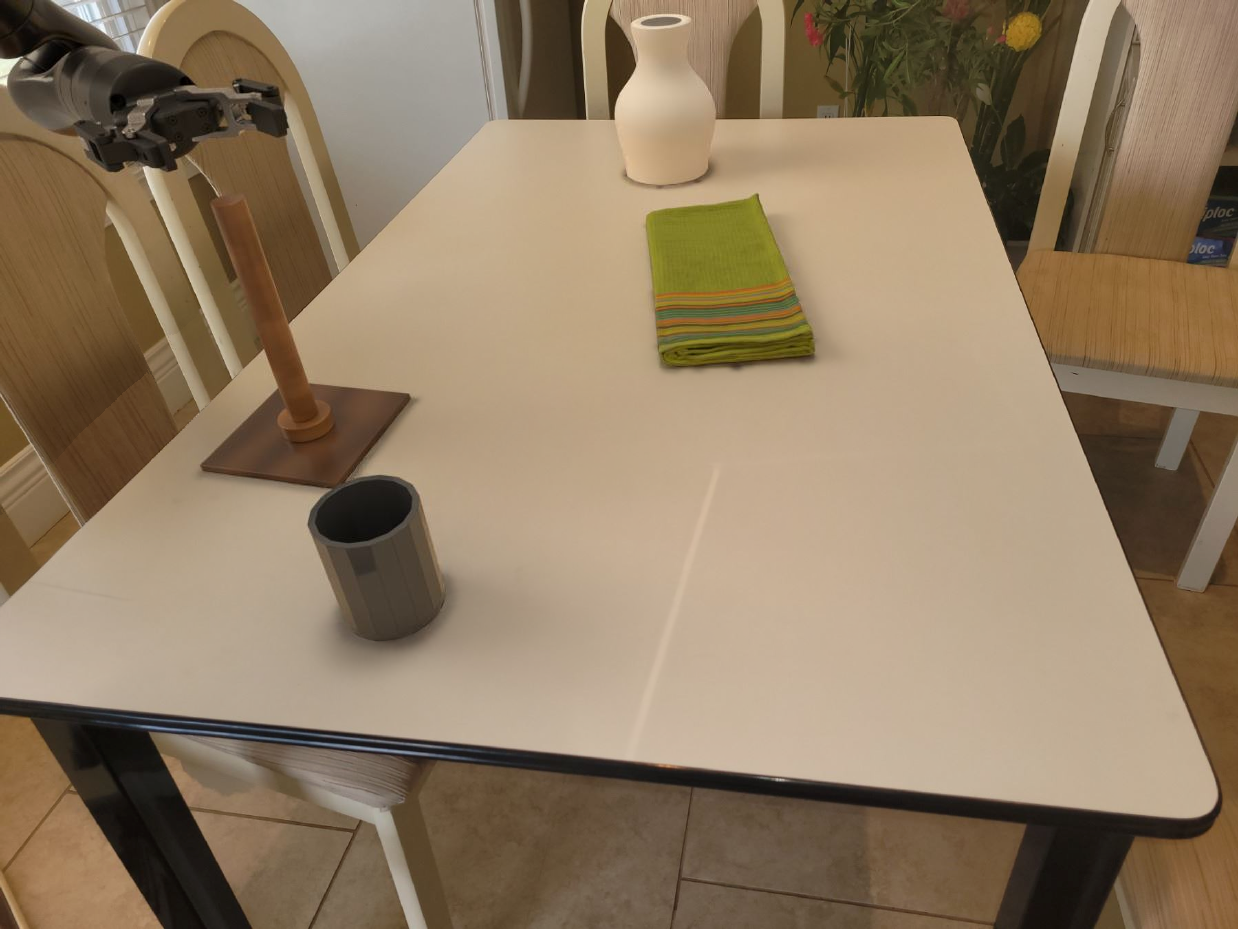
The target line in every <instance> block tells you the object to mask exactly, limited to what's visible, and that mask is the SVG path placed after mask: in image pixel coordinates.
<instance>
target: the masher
mask: <svg viewBox="0 0 1238 929" xmlns="http://www.w3.org/2000/svg"><path fill="white" fill-rule="evenodd" d="M210 207H211V210H212V212H213V216H214V218H215V222H216V223H217V226H218V228H219V232H220V234H221V237H222V240H223V242H224V245H225V248H226V251H227V253H228V256H229V258H230V261H231V264H232V267H233V269H234V272H235V275H236V278H237V280H238V282H239V285H240V289H241V291H242V294H243V297H244V299H245V302H246V304H247V307H248V310H249V314H250V315H251V318H252V320H253V321H252V322H253V323H254V326H255V329H256V332H257V334H258V337H259V340H260V342H261V345H262V348H263V350H264V353H265V356H266V359H267V362H268V364H269V367H270V369H271V371H272V375H273V378H274V380H275V383H276V385H277V389H278V388H279V391H280V394H281V396H282V399H283V402H284V404H285V407H286V409H284V410H283V411H282V412H281V413H280V415H279V416H278V425H279V427H280V430H281V432H282V435H283V437H284V438H285V439H287V440H289V441H292V442H307V441H312V440H315V439H317V438H320V437H322V436H323V435H325V434H326V433H328V432H329V431H330V430H331V429H332V427H333V425H334V418H333V415H332V412H331V409H330V406H329V405H328V404H327V403H326V402H324V401H320V400H314V397H313V394H312V391H311V388H310V385H309V383H310V382H309V380H308V377H307V374H306V370H305V368H304V366H303V362H302V359H301V356H300V354H299V351H298V348H297V345H296V342H295V340H294V337H293V336H294V335H293V333H292V331H291V327H290V324H289V322H288V319H287V316H286V312H285V310H284V307H283V304H282V300H281V298H280V295H279V293H278V289H277V286H276V284H275V281H274V278H273V275H272V272H271V269H270V267H269V263H268V261H267V258H266V254H265V252H264V249H263V246H262V244H261V240H260V237H259V235H258V232H257V229H256V225H255V223H254V220H253V217H252V215H251V211H250V209H249V205H248V203H247V199H246V197H245V195H244V194H242V193H227V194H223V195H220V196H218V197H215V198H213V199H212V200H211V201H210Z"/></svg>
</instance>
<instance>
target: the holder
mask: <svg viewBox="0 0 1238 929" xmlns="http://www.w3.org/2000/svg"><path fill="white" fill-rule="evenodd" d="M306 524H307V528H308V531H309V534H310V536H311V538H312V541H313V544H314V546H315V549H316V551H317V554H318V556H319V559H320V561H321V564H322V566H323V569H324V572H325V575H326V576H327V579H328V582H329V584H330V587H331V590H332V592H333V594H334V597H335V599H336V603H337V605H338V607H339V610H340V613H341V615H342V617H343V620H344V622H345V625H346V626H347V627H348V628H349V630H350V631H352V632H353V633H354V634H356V635H357V636H359V637H362V638H364V639H368V640H374V641H387V640H388V641H389V640H396V639H399V638H402V637H406V636H407V635H411V634H413V633H415V632H417V631H419V630H421V629H422V628H423V627H425V626H426V625H427V624H428V623H430V622H431V620H433V619H434V618H435V617H436V615H437V614H438V613H439V611H440V610H441V608H442V606H443V603H444V600H445V595H446V592H445V591H446V590H445V586H444V578H443V574H442V571H441V568H440V565H439V561H438V556H437V553H436V550H435V546H434V542H433V538H432V535H431V531H430V528H429V524H428V521H427V517H426V514H425V510H424V506H423V503H422V500H421V495H420V494H419V493H418V491H417V489H416V488H415V486H414V484H413V483H411V482H409V481H407V480H405V479H403V478H401V477H400V476H393V475H387V474H375V475H367V476H359V477H356V478H353V479H351V480H348V481H346V482H345V481H344V482H343V483H342V484H340V485H338V486H336V487H335V488H331V489H330V490H329V491H327V492H325V493H324V494H323V495H322V496H321V497H319V499H318V500H317V501H316V503H315V504H314V505H313V506H312V508H310V511H309V516H308V520H307V523H306Z"/></svg>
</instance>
